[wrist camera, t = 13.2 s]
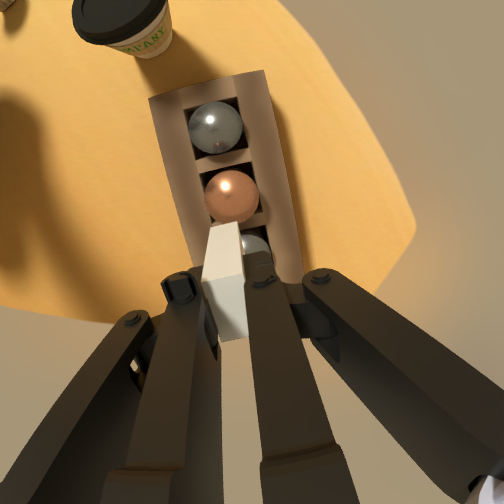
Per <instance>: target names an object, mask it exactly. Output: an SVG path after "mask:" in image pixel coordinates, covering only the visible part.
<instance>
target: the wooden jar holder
mask: <svg viewBox="0 0 504 504" xmlns="http://www.w3.org/2000/svg"><path fill="white" fill-rule="evenodd" d="M148 100H149V104H150V109H151V113H152V117H153V122H154V126H155V130H156V134H157V138H158V142H159V146H160V150H161V154H162V158H163V162H164V166H165V170H166V173H167V177H168V181H169V184H170V188H171V192H172V195H173V199H174V202H175V206H176V209H177V213H178V216H179V220H180V223H181V227H182V230H183V233H184V237H185V240H186V243H187V246H188V250H189V253H190V256H191V259H192V262H193V266H194V267H197V266H201V265H204V261H205V255H206V249H207V244H208V238H209V233H210V227H215V226H219V225H223V224H224V223H221V222H219V221H217V220H215V219H214V218H213V217H212V216H211V215H210V214H209V213H208V211H207V209H206V207H205V203H204V193H205V189H206V187H207V181H206V177H205V173H204V172H207V171H211V170H215V169H219V168H223V167H227V166H232V165H236V164H240V163H245V162H249V161H250V166H251V170H252V175H253V179H254V183H255V184H256V187H257V189H258V193H259V202H258V206H257V209H256V210H255V212H254V214H253V215H252V216H251V217H250V218H249V219H247V220H246V221H244V222H242V223H239V224H238V227H239V231H240V230H244V229H248V228H253V227H257V226H262V225H264V230H265V234H266V239H267V244H268V247H269V249H270V252H271V259H272V262H273V265H274V268H275V270H276V273H277V275H278V276H279V277H280V279H281V281H282V282H285V283H290V284H298V283H302V278H303V276H304V275H305V273H304V267H303V261H302V255H301V249H300V243H299V237H298V231H297V225H296V220H295V214H294V209H293V203H292V198H291V193H290V188H289V182H288V177H287V172H286V167H285V162H284V157H283V152H282V148H281V143H280V138H279V134H278V129H277V124H276V120H275V115H274V111H273V107H272V102H271V98H270V94H269V89H268V85H267V81H266V77H265V73H264V70H259V71H253V72H248V73H242V74H237V75H232V76H228V77H223V78H219V79H214V80H210V81H206V82H202V83H198V84H194V85H191V86H187V87H183V88H180V89H176V90H173V91H170V92H166V93H163V94H160V95H157V96H154V97H151V98H148ZM209 102H223V103H226V104H232V103H236V105H237V109H238V113H239V116H240V118H241V121H242V131H243V135H244V139H245V144H246V147H242V148H238V149H233V150H229V151H225V152H222V153H216V154H212V155H208V156H205V157H200V153H199V149H198V148H197V147H196V146H195V145H194V143H193V142H192V140H191V138H190V136H189V131H188V126H189V121H190V118H191V116H190V114H192V113H194V112H195V111H196V110H197V109H198V108H199V107H200V106H202V105H204V104H206V103H209Z"/></svg>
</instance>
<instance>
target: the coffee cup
mask: <svg viewBox="0 0 504 504" xmlns="http://www.w3.org/2000/svg"><path fill="white" fill-rule="evenodd" d="M72 19H73V25H74V28H75V30H76V32H77V33H78V35H79V36H80V37H81V38H82V39H83V40H85V41H86V42H89V43H92V44H95V45H105V46H107V47H110V48H113V49H116V50H118V51H121V52H124V53H126V54H129V55H134V56H137V57H139V58H144V59H148V58H153V57H156V56H158V55H160V54H161V53H163V52H164V51H165V50H166V49H167V48H168V47H169V45H170V43H171V41H172V37H173V33H172V21H171V16H170V10H169V4H168V0H74V2H73V5H72Z"/></svg>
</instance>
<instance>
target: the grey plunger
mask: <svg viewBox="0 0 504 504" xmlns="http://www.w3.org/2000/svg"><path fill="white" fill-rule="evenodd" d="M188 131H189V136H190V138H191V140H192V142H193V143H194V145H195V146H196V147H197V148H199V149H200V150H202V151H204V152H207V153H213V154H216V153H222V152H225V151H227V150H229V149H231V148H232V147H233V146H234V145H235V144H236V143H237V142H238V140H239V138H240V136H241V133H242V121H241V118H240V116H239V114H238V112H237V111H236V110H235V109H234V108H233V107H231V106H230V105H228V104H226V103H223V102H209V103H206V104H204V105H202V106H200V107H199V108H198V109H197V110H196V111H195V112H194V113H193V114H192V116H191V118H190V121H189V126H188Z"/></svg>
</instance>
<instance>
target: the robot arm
mask: <svg viewBox="0 0 504 504" xmlns="http://www.w3.org/2000/svg"><path fill="white" fill-rule="evenodd" d="M160 284H161V286H162V289H163V292H164V294H165V297H166V299H167V302H168V304H167V307H166V311H165V313H162V314H160V315H158V316H155V317H152V318H150V316H149V314H148V312H147V311H145V310H136V311H135V310H134V311H131V312H128V313H127V314H126V315H124V316H123V317H122V318H121V319H119V320H118V322H117V323H116V324H115V325H114V327H113V328H112V329H111V330H110V332H109V333H108V334H107V336H105V338H104V339H103V340H102V342H101V343H100V344H99V345H98V347H97V348H96V349H95V350H94V352H93V353H92V354H91V356H90V357H89V358H88V359H87V361H86V362H85V363H84V365H83V366H82V367H81V368H80V370H79V371H78V372H77V374H76V375H75V376H74V378H73V379H72V380H71V382H70V383H69V384H68V386H67V387H66V389H65V390H64V391H63V393H62V394H61V395H60V397H59V398H58V399H57V401H56V402H55V404H54V405H53V406H52V408H51V409H50V410H49V412H48V413H47V415H46V416H45V418H44V419H43V420H42V422H41V423H40V425H39V426H38V428H37V429H36V431H35V432H34V433H33V435H32V436H31V438H30V439H29V441H28V443H27V444H26V445H25V447H24V448H23V450H22V451H21V453H20V455H19V456H18V458H17V459H16V461H15V462H14V464H13V465H12V467H11V469H10V470H9V472H8V474H7V475H6V477H5V478H4V480H3V481H2V482H1V483H0V504H224V496H223V495H224V493H223V464H222V463H223V462H222V414H221V413H222V412H221V411H222V410H221V348H220V345H219V342H218V334H219V337H220V340H221V342H225V341H230V340H235V339H240V338H245V337H249V343H250V352H251V361H252V370H253V379H254V388H255V396H256V404H257V414H258V422H259V431H260V439H261V447H262V457H263V458H262V461H261V463H260V480H261V488H262V496H263V504H360V503H359V500H358V496H357V493H356V490H355V487H354V484H353V481H352V477H351V474H350V471H349V468H348V465H347V462H346V459H345V457H344V454H343V451H342V449H341V447H340V445H338V444H336V442H335V439H334V436H333V434H332V430H331V427H330V424H329V421H328V418H327V415H326V412H325V409H324V406H323V403H322V400H321V397H320V394H319V390H318V387H317V384H316V381H315V379H314V376H313V372H312V370H311V367H310V364H309V361H308V358H307V355H306V352H305V349H304V346H303V343H302V340H301V339H302V338H310V340H311V342H312V344H313V345H314V346H315V348H316V349H317V350H318V351H319V352H320V353H321V355H322V356H323V357H324V358H325V359H326V361H327V362H328V363H329V364H330V365H331V366H332V367H333V369H334V370H335V371H336V372H337V373H338V374H339V376H340V377H341V378H342V379H343V380H344V381H345V383H346V384H347V385H348V386H349V387H350V388H351V390H352V391H353V392H354V393H355V394H356V395H357V397H359V399H360V400H361V401H362V402H363V403H364V405H365V406H366V407H367V408H368V409H369V410H370V411H371V413H372V414H373V415H374V416H375V417H376V418H377V419H378V420H379V422H380V423H381V424H382V425H383V426H384V427H385V429H386V430H387V431H388V432H389V433H390V434H391V435H392V436H393V438H394V439H395V440H396V441H397V442H398V443H399V444H400V446H401V447H403V449H404V450H405V451H406V452H407V453H408V455H410V457H411V458H412V459H413V460H414V461H415V462H416V463H417V465H418V466H419V467H420V468H421V469H422V470H423V471H424V472H425V474H426V475H427V476H428V477H429V478H430V479H431V480H432V481H433V482H434V483H435V484H436V485H437V486H438V487H439V488H440V489H441V490H442V491H443V492H444V493H445V494H447V495H448V496H449V497H451V498H452V499H454V500H455V501H456V502H458V503H460V504H504V390H503V389H501V388H500V387H499V386H498V385H496V384H495V383H494V382H492V381H491V380H490V379H488V378H487V377H486V376H484V375H483V374H482V373H480V372H479V371H478V370H476V369H475V368H474V367H472V366H471V365H470V364H468V363H467V362H466V361H464V360H463V359H462V358H460V357H459V356H458V355H456V354H455V353H453V352H452V351H451V350H449V349H448V348H446V347H445V346H444V345H443V344H441V343H440V342H438V341H437V340H435V339H434V338H433V337H431V336H430V335H429V334H427V333H426V332H424V331H423V330H422V329H420V328H419V327H417V326H416V325H415V324H413V323H412V322H410V321H409V320H407V319H406V318H405V317H403V316H402V315H400V314H399V313H397V312H396V311H395V310H393V309H392V308H390V307H389V306H387V305H386V304H385V303H383V302H382V301H380V300H379V299H377V298H376V297H374V296H373V295H372V294H370V293H369V292H367V291H366V290H364V289H363V288H361V287H360V286H358V285H357V284H355V283H354V282H352V281H351V280H349V279H348V278H347V277H345V276H344V275H342V274H341V273H339V272H338V271H335V270H333V269H327V268H322V269H321V268H319V269H316V270H313V271H310V272H308V273H306V274H305V275H304V276H303V278H302V283H300V284H290V283H285V282H282V281H281V279H280V277H279V276H278V275H277V273H276V270H275V268H274V265H273V262H272V259H271V256H270V253H268V252H266V251H264V250H263V251H258V252H254V253H250V254H245V252H244V248H243V244H242V239H241V235H240V231H239V227H238V223H237V221H235V222H231V223H227V224H223V225H219V226H215V227H210V233H209V238H208V244H207V249H206V255H205V261H204V265H201V266H197V267H193V268H190V269H189V270H188V271H181V272H177V273H174V274H172V275H170V276H168V277H166V278H165V279H164V280H163V281H162V282H161V283H160ZM133 359H134V361H135V362H136V364H137V366H138V369H137V370H136V371H135V372H134V371H133V370H132V368H131V366H130V364H131V362H132V360H133Z"/></svg>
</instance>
